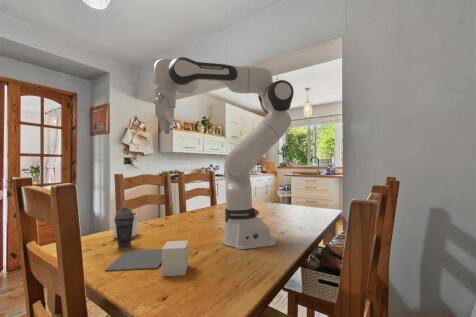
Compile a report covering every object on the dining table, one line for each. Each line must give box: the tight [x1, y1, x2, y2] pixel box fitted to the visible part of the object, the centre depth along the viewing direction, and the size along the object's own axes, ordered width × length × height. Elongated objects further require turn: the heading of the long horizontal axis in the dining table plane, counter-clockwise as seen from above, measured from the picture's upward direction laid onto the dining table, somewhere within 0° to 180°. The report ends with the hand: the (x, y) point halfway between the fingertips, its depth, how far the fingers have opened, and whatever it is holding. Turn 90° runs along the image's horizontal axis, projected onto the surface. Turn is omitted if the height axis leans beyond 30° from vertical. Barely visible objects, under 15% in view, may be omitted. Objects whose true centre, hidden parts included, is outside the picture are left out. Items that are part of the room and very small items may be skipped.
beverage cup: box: [113, 197, 134, 250], centre depth 93 cm, size 7×7×20 cm
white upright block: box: [161, 240, 189, 277], centre depth 71 cm, size 7×7×8 cm
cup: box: [113, 212, 139, 240], centre depth 106 cm, size 10×10×10 cm
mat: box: [104, 248, 162, 272], centre depth 79 cm, size 16×16×1 cm
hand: (165, 132), depth 94 cm, fingers open, 8 cm apart
